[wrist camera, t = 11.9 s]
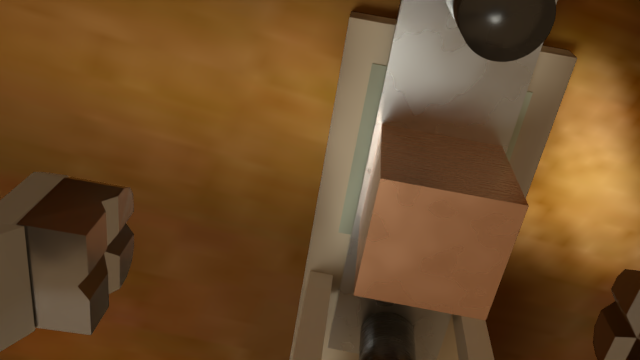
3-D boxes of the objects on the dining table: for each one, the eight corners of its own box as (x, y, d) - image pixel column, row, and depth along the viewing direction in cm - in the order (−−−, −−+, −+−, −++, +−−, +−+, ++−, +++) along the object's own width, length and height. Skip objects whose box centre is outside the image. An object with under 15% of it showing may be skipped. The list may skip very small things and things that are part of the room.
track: (262, 516, 48) (258, 535, 47) (351, 11, 29) (349, 17, 28) (391, 542, 48) (391, 562, 47) (568, 50, 29) (577, 58, 27)
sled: (329, 336, 36) (316, 429, 30) (416, -75, 25) (426, -63, 19) (432, 356, 36) (441, 453, 30) (566, -49, 25) (625, -28, 19)
